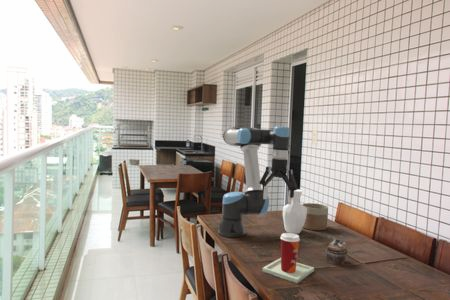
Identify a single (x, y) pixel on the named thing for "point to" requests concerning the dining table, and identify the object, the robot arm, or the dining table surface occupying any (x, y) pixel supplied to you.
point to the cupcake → (336, 252)
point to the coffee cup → (289, 252)
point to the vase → (294, 214)
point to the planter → (316, 216)
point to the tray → (295, 277)
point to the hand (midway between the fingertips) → (277, 201)
